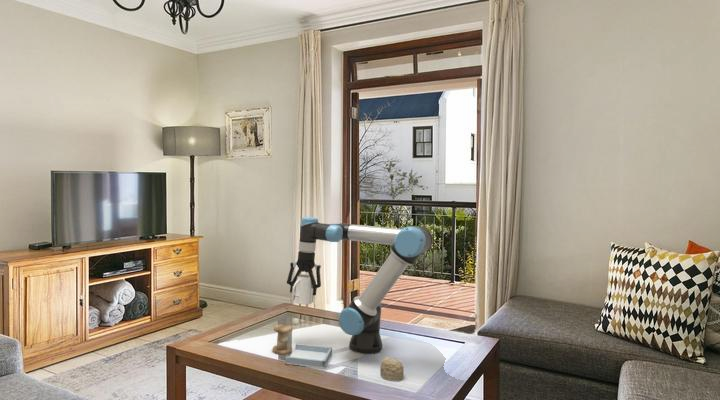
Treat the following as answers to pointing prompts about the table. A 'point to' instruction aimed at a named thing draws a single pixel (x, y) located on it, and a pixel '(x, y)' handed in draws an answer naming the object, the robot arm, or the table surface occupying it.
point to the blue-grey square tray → (310, 356)
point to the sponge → (391, 369)
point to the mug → (302, 289)
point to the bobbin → (282, 339)
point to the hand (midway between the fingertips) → (302, 301)
